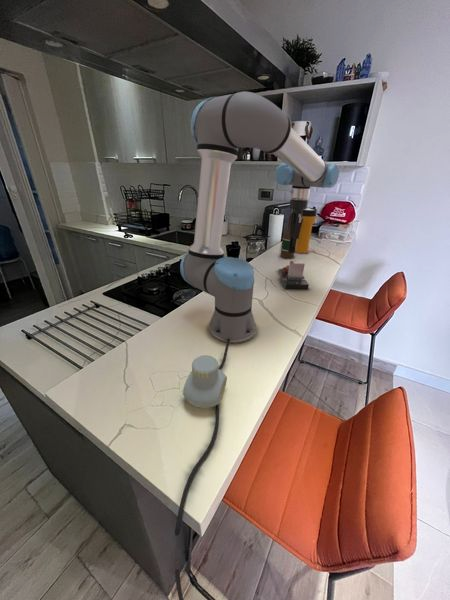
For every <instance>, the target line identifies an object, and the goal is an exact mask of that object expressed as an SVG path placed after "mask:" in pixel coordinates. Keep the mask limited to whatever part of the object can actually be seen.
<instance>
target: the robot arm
mask: <svg viewBox="0 0 450 600" xmlns="http://www.w3.org/2000/svg"><path fill="white" fill-rule="evenodd" d="M190 133H191V136H192V137H193V141H194V143H195V144H196V153H197V155H198V156H199V157H200V161H201V162H200V171H199V173H200V174H199V184H198V195H197V204H196V205H197V207H196V216H195V218H196V219H195V225H194V226H195V228H194V237H193V238H194V239H193V243H192V244H191V245H190V246H189V247H188V251H187V252H186V253H185V254H184V255H183V256H184V257H182V258H181V261H180V265H179V271H180V275H181V277H182V279H183V281H185V282H186V283H187V284H189V285H190V286H191V287H193V288H195V289H198V290H200V291H201V292H204V293H206V294H207V295H210V296H212V297H214V311H213V313H212V316H211V319H210V322H209V333H210V335H211V337H213V338H214V339H215V340H217V341H219V342H221V343H225V349H224V352H223V357H222V360H221V363H220V365H218V369H219V370H221V371H222V369H223V367H224V365H225V362H226V359H227V354H228V350H229V346H230V344H242V343H245V342H248V341H250V340H251V339H253V337H254V336H255V335H256V330H257V326H256V325H257V324H256V321H255V317H254V315H253V310H252V309H253V308H252V307H253V296H254V287H255V271H254V267H253V266H252V264H251V263H249V262H248V261H247V260H245V259H242V258H239V257H233V256H225V250H224V249H223V248H222V246H221V244H222V239H223V238H222V237H223V229H224V222H225V216H226V215H225V214H226V205H227V198H228V191H229V183H230V175H231V167H232V164H233V163H234V162H235V161H236V160H237V159H238V155H239V149H243V148H248V149H249V148H250V149H257V150H260V151H262V152H263V153H265V154H266V155H274V156H275V157H276V158H277V159H279V160H280V161H281V162H283V163H281V164H279V165H278V166H277V167H276V169H275V172H274V174H275V175H274V178H275V181H276V182H277V183H278V184H279V185H280V186H291V190H290V191H289V193H290V200H289V209H291V210H292V212H291V213H290V214H291V221H290V233H289V235H290V243H289V250H288V252H289V253H294V254H295V253H296V251H295V248H296V241H297V239H298V238H299V234H300V230H301V225H302V222H303V218H302V216H303V214H302V210H303V209H304V210H305V209H307V208H308V204H309V199H310V195H311V194H310V193H311V187H312V188H313V187H314V188H322V189H325V188H326V189H332V188H334V187H335V185H336V184H337V182H338V180H339V177H340V167H339V165H338V164H336V163H331V162H330V163H326V162H325V161H324V159H323V158H321V157H320V156H319V155H318V154H317V152H316V151H314V149H313V148H312V147H311V146H310V145H309V144H308V143H307V142H306V141H305V140H304V139H303V138H302V137H301V136H300V135H299V133H298V132H296V130H295V129H293V126H292V121H291V119H290V118H289V116H288V115H287V114H286V113H285V112H284V111H283V110H282V108H280V107H278V105H276V104H275V103H273V102H272V101H271V100H269V99H267V98H265V97H264V96H263V95H260V94H258V93H255V92H251V91H238V92H236V93H235V92H234V93H232V94H231V93H230V94H226V95H221V96H212V97H209V98H207V99H205V100H202V101H201V102H200V103H199V104H198V105H196V107H195V108H194V110H193V112H192V116H191V118H190ZM219 404H220V403H219ZM219 404H218V405H216V406H215V421H214V429H213V433H212V436H211V440H210V442H209V444H208V446H207V448H206V449H205V451H204V453H203V454H202V456H201V457H200V458H199V459H198V460H197V462H196V463H195V465H194V467H193V468H192V470H191V472H190V474H189V477H188V479H187V481H186V482H185V485H184V488H183V491H182V495H181V498H180V503H179V508H178V512H177V517H176V523H175V529H174V535H175V536H176V537H177V536H179V534H180V533H181V527H182V521H183V516H184V509H185V504H186V500H187V497H188V493H189V490H190V487H191V484H192V483H193V479H194V477H195V475H196V473H197V472H198V469H199V468H200V467H201V465H202V464H203V462H204V461H205V460H206V459H207V457H208V456H209V454H210V452H211V451H212V449H213V447H214V444H215V441H216V439H217V435H218V430H219V422H220V405H219ZM180 574H181V571H180V569H179V568H177V569H176V568H175V569H174V576H175V585H176V593H177V596H178V600H184V596H183V591H182V584H181V575H180Z"/></svg>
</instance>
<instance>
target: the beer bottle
mask: <svg viewBox="0 0 450 600" xmlns="http://www.w3.org/2000/svg"><path fill="white" fill-rule="evenodd" d="M290 221H291V213H290V214H289V215H288V222H287V227H286V229H285V231H284V232H283V234H282V239H281V245H280V257H281V258H282V259H286V260H287V259H288V260H291V259H293V258H294V257H295V253H289V252H288V250H289V243H290V235H289V233H290Z"/></svg>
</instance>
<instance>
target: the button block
mask: <svg viewBox="0 0 450 600" xmlns="http://www.w3.org/2000/svg"><path fill="white" fill-rule="evenodd" d="M278 274H280V276H281V274H282V275H288V271H287V270H286V266H284V267H282V268H278Z"/></svg>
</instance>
